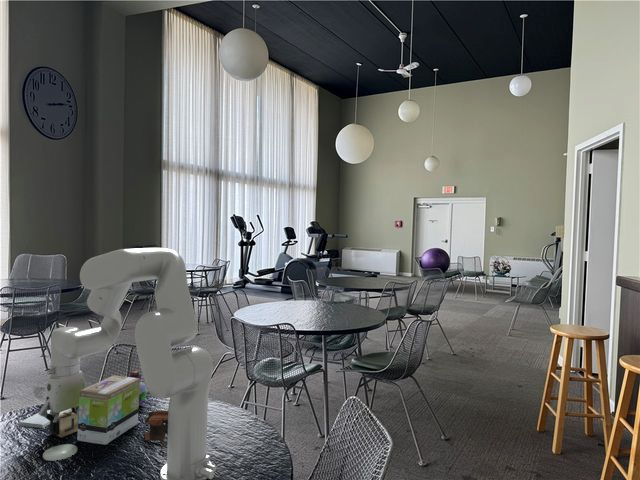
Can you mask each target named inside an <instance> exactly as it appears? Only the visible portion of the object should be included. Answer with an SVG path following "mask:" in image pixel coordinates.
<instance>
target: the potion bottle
mask: <svg viewBox="0 0 640 480" xmlns="http://www.w3.org/2000/svg"><path fill="white" fill-rule="evenodd" d="M127 377H132V378H139V379H140V380H142V373H140V370H131V371H130V372H129V374H128V375H127ZM147 391H148V390H147V388H146V385H145V383H144V382H142V381H140V389H139V406H141V405H142V406H143V403H144V400H145V398H146V396H147ZM142 406H141V407H142Z"/></svg>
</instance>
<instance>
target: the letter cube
mask: <svg viewBox="0 0 640 480" xmlns="http://www.w3.org/2000/svg"><path fill="white" fill-rule="evenodd" d="M78 415H79V414H76V413H73V412H72V411H71V412H70V411H66V412H63V413H60V414H59V417H58V421H59V435H55V436H57V437H59V438H63V437H66V436H69V435H71V434H73V433H75V432H78Z"/></svg>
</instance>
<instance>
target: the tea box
mask: <svg viewBox="0 0 640 480" xmlns="http://www.w3.org/2000/svg"><path fill="white" fill-rule="evenodd" d="M140 382H141V379H139V378H132V377H128V376H123V375H122V376H121V375H111V376H109V377H106V378H104V379H103V380H100V381H98V382H96V383H93V384H91V385H89V386H87V387H85V388H84V389H82V390H80V396H79V414H78V431H77V438H76V439H77V441H79V442H84V443H90V444H97V445H98V444H99V445H104V446H105V445H108V444H109V443H111V442H112V441H113V440H115V439H116V438H119V437H120V436H121V435H122V434H125V433H126V432H128V431H129V430H130V429H132V428H133V427H135V426H137V425H138V424H139V410H140V408H139V389H140Z"/></svg>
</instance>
